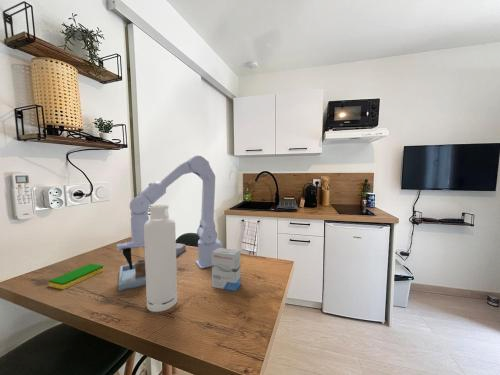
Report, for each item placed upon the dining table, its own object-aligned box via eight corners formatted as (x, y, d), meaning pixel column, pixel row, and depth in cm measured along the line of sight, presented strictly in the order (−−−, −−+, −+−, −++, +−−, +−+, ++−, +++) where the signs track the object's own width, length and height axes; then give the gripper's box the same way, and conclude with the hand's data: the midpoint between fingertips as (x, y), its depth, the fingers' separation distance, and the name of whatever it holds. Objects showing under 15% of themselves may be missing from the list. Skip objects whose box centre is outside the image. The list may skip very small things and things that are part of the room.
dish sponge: (104, 271, 80) (104, 265, 80) (63, 290, 67) (63, 283, 67) (90, 269, 82) (90, 263, 82) (48, 287, 69) (48, 280, 69)
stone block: (154, 262, 92) (174, 259, 90) (152, 251, 92) (172, 248, 90) (169, 253, 104) (187, 250, 102) (168, 243, 104) (186, 240, 102)
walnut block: (147, 270, 78) (147, 257, 78) (148, 275, 75) (147, 261, 75) (135, 273, 76) (135, 259, 76) (135, 278, 73) (135, 263, 73)
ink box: (241, 284, 70) (241, 249, 69) (235, 291, 65) (235, 255, 64) (218, 280, 72) (218, 246, 72) (211, 287, 68) (210, 252, 67)
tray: (160, 263, 86) (160, 258, 86) (165, 280, 72) (165, 274, 72) (120, 271, 79) (120, 266, 79) (118, 291, 65) (118, 285, 65)
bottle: (153, 295, 63) (150, 204, 62) (180, 293, 64) (178, 203, 62) (141, 312, 55) (137, 208, 54) (172, 310, 56) (169, 208, 54)
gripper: (115, 235, 68) (117, 275, 69) (163, 229, 75) (164, 266, 76) (117, 230, 74) (118, 267, 75) (161, 225, 81) (162, 259, 82)
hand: (141, 266), depth 76 cm, fingers open, 6 cm apart
